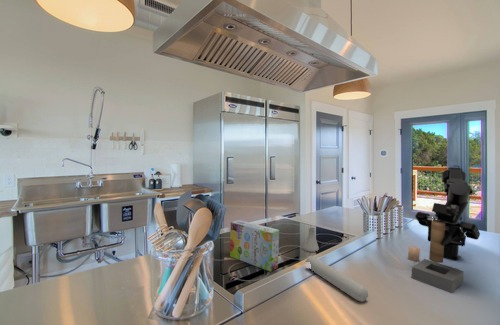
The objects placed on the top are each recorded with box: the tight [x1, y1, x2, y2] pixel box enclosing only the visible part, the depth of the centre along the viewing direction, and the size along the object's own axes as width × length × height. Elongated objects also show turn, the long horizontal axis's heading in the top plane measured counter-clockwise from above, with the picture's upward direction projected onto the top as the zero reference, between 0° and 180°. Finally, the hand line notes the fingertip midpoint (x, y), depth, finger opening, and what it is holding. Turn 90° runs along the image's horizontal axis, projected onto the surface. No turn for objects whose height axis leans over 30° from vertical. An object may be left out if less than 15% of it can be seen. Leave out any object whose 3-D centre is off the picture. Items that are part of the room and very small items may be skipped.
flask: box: [302, 226, 320, 253], centre depth 117 cm, size 7×7×10 cm
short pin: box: [407, 245, 421, 263], centre depth 109 cm, size 4×4×5 cm
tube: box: [305, 255, 369, 303], centre depth 88 cm, size 5×5×25 cm
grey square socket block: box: [411, 258, 465, 293], centre depth 92 cm, size 12×12×4 cm
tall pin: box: [428, 220, 446, 264], centre depth 92 cm, size 4×4×14 cm
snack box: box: [229, 219, 280, 273], centre depth 103 cm, size 21×6×15 cm, turn 52°
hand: (435, 242), depth 91 cm, fingers closed on tall pin, 4 cm apart
